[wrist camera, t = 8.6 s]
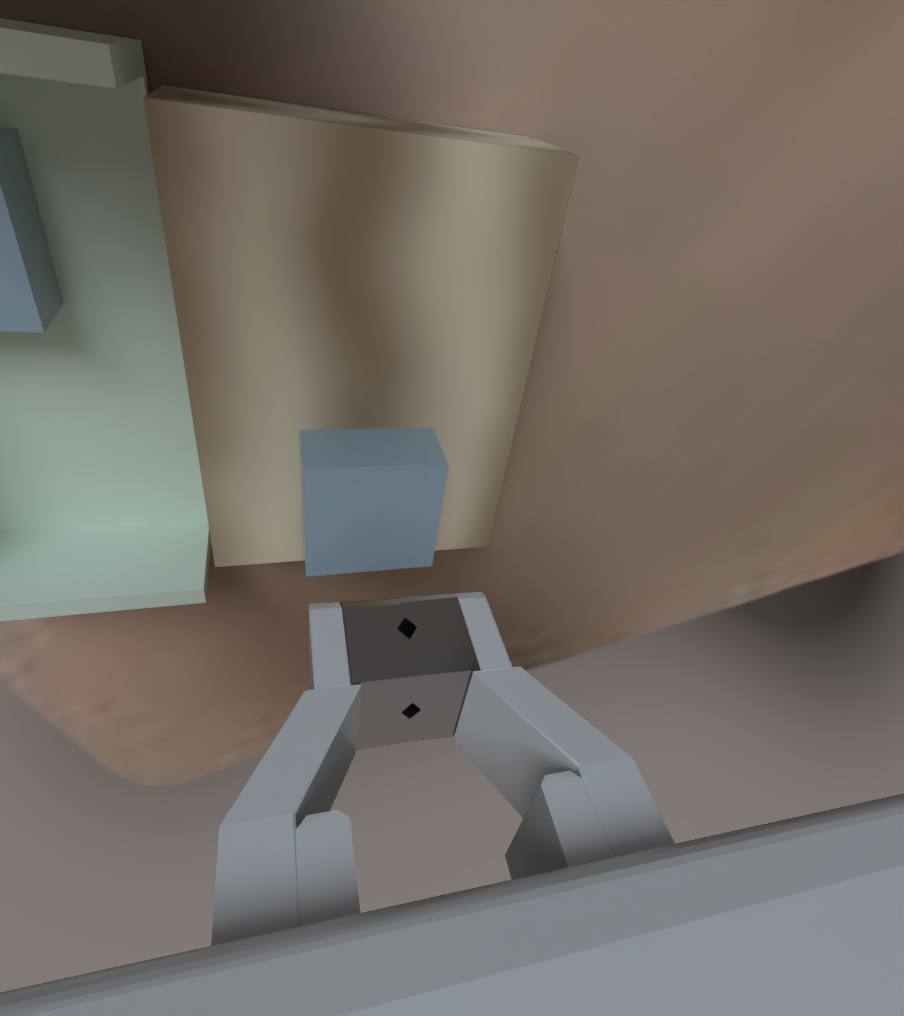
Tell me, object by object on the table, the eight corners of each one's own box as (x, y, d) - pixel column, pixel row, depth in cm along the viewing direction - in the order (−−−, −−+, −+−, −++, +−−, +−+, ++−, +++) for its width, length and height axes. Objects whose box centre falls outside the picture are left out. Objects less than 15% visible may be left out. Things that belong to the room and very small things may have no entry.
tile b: (432, 427, 22) (448, 464, 21) (419, 526, 25) (432, 566, 24) (298, 429, 21) (303, 468, 19) (301, 534, 24) (305, 576, 22)
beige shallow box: (532, 137, 21) (579, 156, 18) (465, 495, 30) (488, 546, 27) (162, 85, 17) (143, 97, 14) (219, 507, 27) (215, 567, 24)
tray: (140, 40, 17) (108, 44, 13) (212, 524, 27) (206, 602, 24) (-328, -35, 14) (-544, -57, 10) (-41, 538, 25) (-94, 629, 21)
